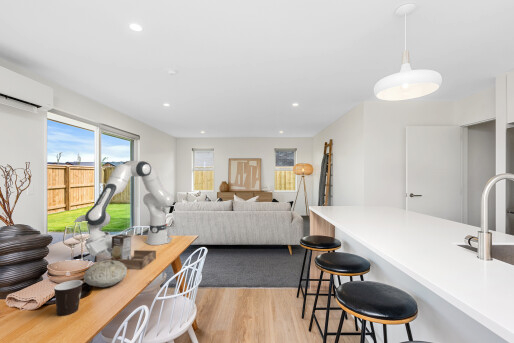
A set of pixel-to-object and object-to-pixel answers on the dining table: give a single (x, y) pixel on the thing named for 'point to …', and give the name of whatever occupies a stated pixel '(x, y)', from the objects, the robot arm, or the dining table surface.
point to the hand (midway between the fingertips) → (111, 255)
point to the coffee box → (121, 247)
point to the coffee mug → (67, 297)
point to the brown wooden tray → (139, 264)
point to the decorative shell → (105, 273)
